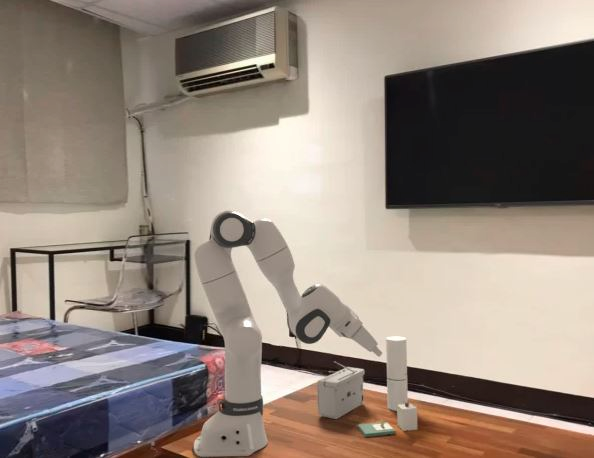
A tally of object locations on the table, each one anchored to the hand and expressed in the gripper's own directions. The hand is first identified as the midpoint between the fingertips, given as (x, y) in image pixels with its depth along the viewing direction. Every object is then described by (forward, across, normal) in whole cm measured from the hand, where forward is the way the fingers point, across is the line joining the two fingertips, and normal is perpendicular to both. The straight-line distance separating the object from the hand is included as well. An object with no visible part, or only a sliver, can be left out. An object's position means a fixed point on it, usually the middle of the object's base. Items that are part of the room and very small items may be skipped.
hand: (375, 351), depth 176 cm
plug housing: (+25, 0, -11) cm, 28 cm away
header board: (+18, 0, -18) cm, 26 cm away
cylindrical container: (+28, -19, -8) cm, 35 cm away
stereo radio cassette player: (+14, -21, -22) cm, 34 cm away
